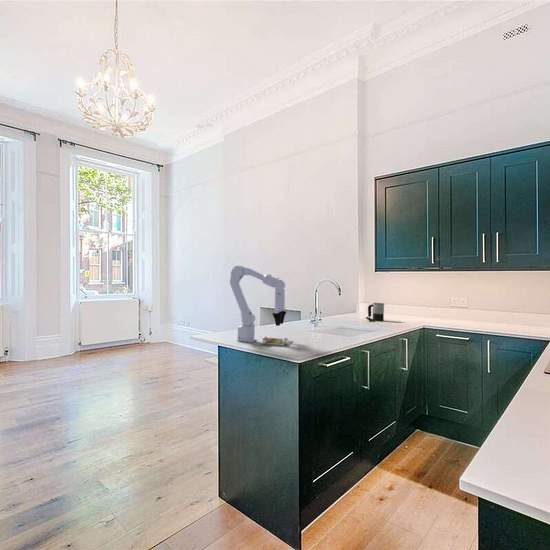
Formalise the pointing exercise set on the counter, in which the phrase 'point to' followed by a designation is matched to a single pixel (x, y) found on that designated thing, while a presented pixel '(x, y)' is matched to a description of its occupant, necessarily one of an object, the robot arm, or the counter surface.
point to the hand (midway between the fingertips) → (279, 324)
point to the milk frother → (376, 312)
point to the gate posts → (266, 341)
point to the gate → (275, 340)
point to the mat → (277, 344)
